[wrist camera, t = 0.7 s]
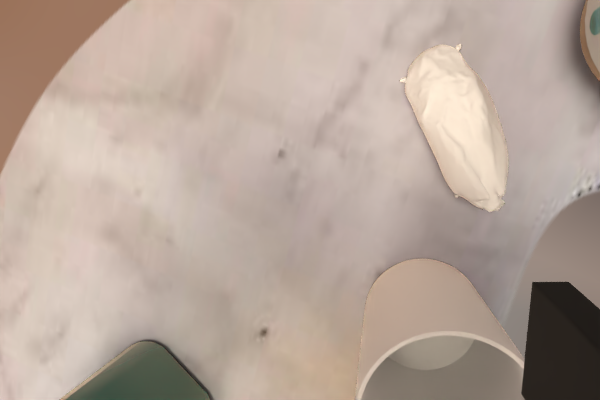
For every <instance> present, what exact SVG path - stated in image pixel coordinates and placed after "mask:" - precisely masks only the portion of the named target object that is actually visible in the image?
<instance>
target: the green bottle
mask: <svg viewBox="0 0 600 400" xmlns="http://www.w3.org/2000/svg"><path fill="white" fill-rule="evenodd" d="M59 400H210V398H209V396H208V394H207V392H206V391H205V390H204V389H203V388H202V387H201V386H200V385H199V384H198V383H197V382H196V381H195V380H194V379H193V378H192V377H191V376H190V374H189V373H188V372H187V371H186V370H185V369H184V368H183V367H182V366H181V365H180V364H179V363H178V362H177V361H176V360H175V359H174V358H173V357H172V355H171V354H170V353H169V352H168V351H167V350H166V349H165V348H164V347H163V346H161V345H159V344H157V343H155V342H149V341H140V342H138V343H135V344H132V345H131V346H130V347H128V348H127V349H126V350H124V351H123V352H122V353H120V354H119V355H118V356H116V357H115V358H114V359H112V360H111V361H110V362H108V363H107V364H106V365H104V366H103V367H102V368H100V369H99V370H98V371H96V372H95V373H94V374H92V375H91V376H90V377H88V378H87V379H86V380H85V381H83V382H82V383H81V384H79V385H78V386H77V387H75V388H74V389H73V390H71V391H70V392H69V393H67V394H66V395H65V396H63V397H62V398H61V399H59Z"/></svg>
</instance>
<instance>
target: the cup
mask: <svg viewBox="0 0 600 400" xmlns="http://www.w3.org/2000/svg"><path fill="white" fill-rule="evenodd" d="M524 361H525V359H524V357H523V356H522V355H521V353H520V352H519V350H518V349H517V347H516V346H515V345H514V343H513V342H512V340H511V339H510V337H509V336H508V335H507V333H506V332H505V330H504V329H503V328H502V326H501V325H500V323H499V322H498V320H497V319H496V318H495V316H494V315H493V313H492V312H491V310H490V309H489V308H488V306H487V305H486V303H485V302H484V301H483V299H482V298H481V296H480V295H479V293H478V292H477V291H476V289H475V288H474V286H473V285H472V284H471V282H470V281H469V280H468V279H467V278H466V276H464V275H463V274H462V273H461V272H460V271H458V270H457V269H455V268H454V267H452V266H450V265H448V264H446V263H443V262H441V261H437V260H432V259H411V260H407V261H403V262H400V263H398V264H396V265H394V266H392V267H390V268H389V269H387V270H386V271H385V272H384V273H382V274H381V275H380V276H379V277H378V279H377V280H376V281H375V282H374V284H373V286H372V287H371V289H370V291H369V293H368V296H367V299H366V303H365V311H364V320H363V329H362V338H361V347H360V356H359V365H358V374H357V383H356V393H355V400H525V399H524V398H523V396H522V394H521V391H522V381H523V371H524Z"/></svg>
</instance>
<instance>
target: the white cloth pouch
mask: <svg viewBox="0 0 600 400" xmlns="http://www.w3.org/2000/svg"><path fill="white" fill-rule="evenodd" d="M461 47H462V44H459V45H457V46H456V47H455V48H453V47H450V46H447V45H437V46H434V47H432V48H430V49H428V50H426V51H424V52H422V53H421V54H420V55H419V56H418V57H417V58H416V59H415V60H414V61H413V62H412V64H411V66H410V67H409V68H408V74H407V77H404V78H402V79H400V80H399V81H400V82H406V83H405V94H406V96H407V98H408V100H409V102H410V104H411V106H412V108H413V111H414V114H415V116H416V118H417V121H418V123H419V125H420V127H421V129H422V130H423V132H424V134H425V136H426V139H427V141H428V143H429V146H430V147H431V149H432V152H433V154H434V156H435V158H436V160H437V162H438V164H439V167H440V170H441V172H442V175H443V177H444V179H445V181H446V183H447V184H448V185H449V187H450V188H451V190H452V191H453V192H454V193H455V195H454V197H455V198H457V197H463V198H464V199H466V200H468V201H469V202H470V203H471V204H473V205H474V206H476V207H478V208H480V209H482V210H483V209H486V210H487V211H489V212H492V211H494V210H496V211H498V210H499V208H501V207H502V206H503V205H504V204H505V203H504V200H501V199H502V197H503V195H504V194H505V192H506V183H507V175H508V168H509V159H508V151H507V147H506V146H507V145H506V139H505V137H504V134H503V131H502V125H501V123H500V121H499V116H498V114H497V112H496V109H495V106H494V102H493V100H492V98H491V96H490V94H489V92H488V90H487V88H486V86H485V85H484V83H483V82H482V80H481V79H480V77H479V75H478V74H477V73H476V72H475V71H474V70H473V69H471V68H470V67H469V66H468V64H467V63H466V61H465V60H464V59H463V57H462V54H461V53H460V52H459V51H460V50H461ZM498 195H499V196H498Z"/></svg>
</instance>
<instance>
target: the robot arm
mask: <svg viewBox="0 0 600 400" xmlns="http://www.w3.org/2000/svg"><path fill="white" fill-rule="evenodd" d="M521 394H522V396H523V398H524V399H525V400H600V309H599V308H598V307H596V306H595V305H594V304H593V303H592V302H591V301H590V300H588V299H587V298H586V297H585V296H584V295H583V294H582V293H581V292H579V291H578V290H577V289H576V288H575V287H574V286H573V285H571V284H570V283H569V282H533V283H532V292H531V302H530V312H529V322H528V332H527V341H526V352H525V361H524V371H523V381H522V391H521Z"/></svg>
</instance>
